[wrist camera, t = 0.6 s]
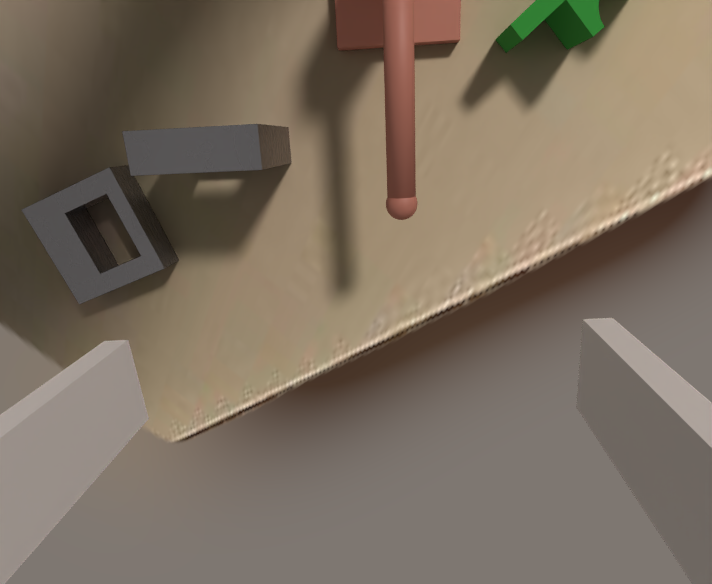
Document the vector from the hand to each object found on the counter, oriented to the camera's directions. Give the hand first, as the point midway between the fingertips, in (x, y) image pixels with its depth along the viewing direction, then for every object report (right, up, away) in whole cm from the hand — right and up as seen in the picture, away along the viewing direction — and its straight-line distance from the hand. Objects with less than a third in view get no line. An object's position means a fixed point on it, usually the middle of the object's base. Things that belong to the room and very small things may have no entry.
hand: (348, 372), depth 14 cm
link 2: (-9, +13, +21) cm, 26 cm away
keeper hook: (+3, +19, +18) cm, 26 cm away
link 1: (-19, +7, +24) cm, 32 cm away
